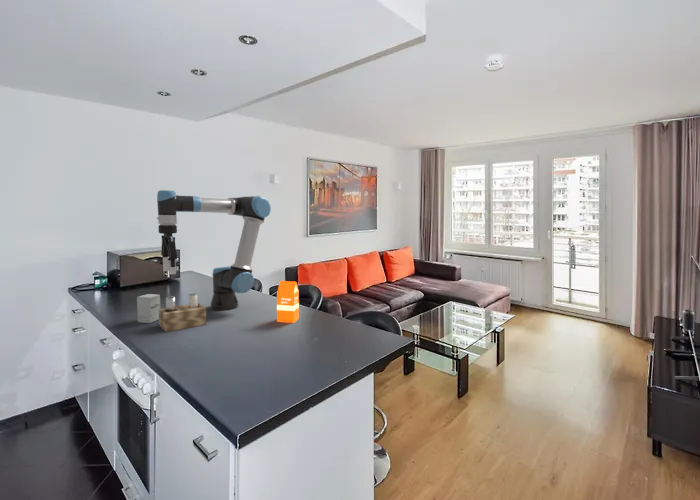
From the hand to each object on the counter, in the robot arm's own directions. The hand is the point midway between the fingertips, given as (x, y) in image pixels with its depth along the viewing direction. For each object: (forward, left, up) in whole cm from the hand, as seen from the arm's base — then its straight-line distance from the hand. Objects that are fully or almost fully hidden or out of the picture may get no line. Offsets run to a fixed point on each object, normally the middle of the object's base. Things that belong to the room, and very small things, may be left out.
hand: (169, 272), depth 169 cm
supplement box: (+6, -17, -26) cm, 32 cm away
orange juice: (-49, +23, -26) cm, 60 cm away
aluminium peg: (0, 0, -20) cm, 20 cm away
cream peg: (-10, 0, -20) cm, 22 cm away
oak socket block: (-5, 0, -26) cm, 26 cm away
